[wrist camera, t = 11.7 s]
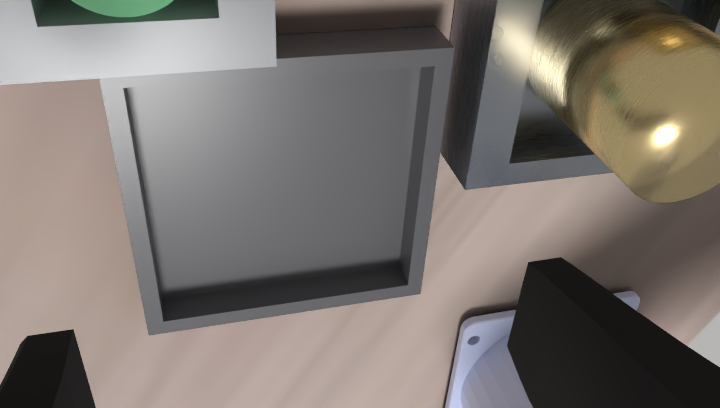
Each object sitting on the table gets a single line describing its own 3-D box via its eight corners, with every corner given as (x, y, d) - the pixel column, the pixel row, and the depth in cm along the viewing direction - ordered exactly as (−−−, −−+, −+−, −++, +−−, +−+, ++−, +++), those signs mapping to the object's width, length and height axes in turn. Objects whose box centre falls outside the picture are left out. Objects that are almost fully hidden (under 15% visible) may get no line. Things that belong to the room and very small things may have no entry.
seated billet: (631, 102, 22) (739, 193, 18) (515, 114, 21) (603, 211, 17) (670, -25, 19) (805, 47, 15) (542, -19, 18) (651, 59, 14)
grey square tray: (407, 265, 25) (420, 294, 23) (147, 302, 22) (148, 335, 21) (435, 25, 19) (454, 47, 18) (100, 44, 17) (97, 70, 16)
